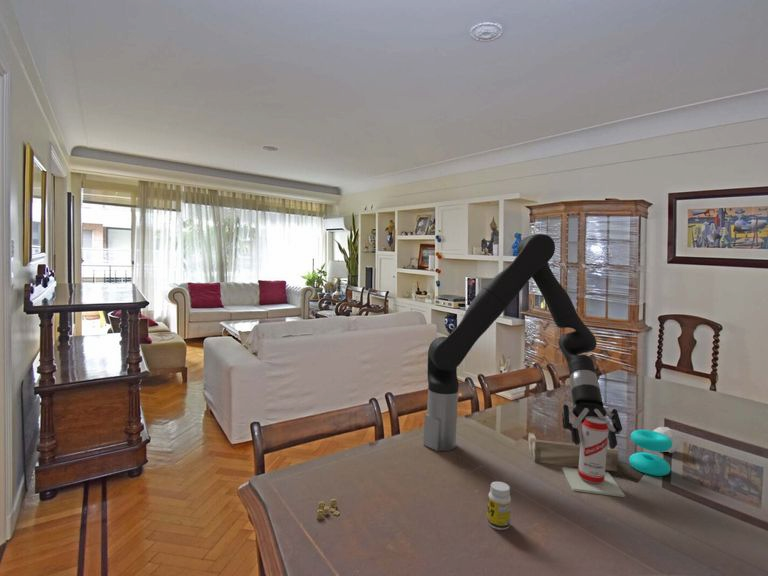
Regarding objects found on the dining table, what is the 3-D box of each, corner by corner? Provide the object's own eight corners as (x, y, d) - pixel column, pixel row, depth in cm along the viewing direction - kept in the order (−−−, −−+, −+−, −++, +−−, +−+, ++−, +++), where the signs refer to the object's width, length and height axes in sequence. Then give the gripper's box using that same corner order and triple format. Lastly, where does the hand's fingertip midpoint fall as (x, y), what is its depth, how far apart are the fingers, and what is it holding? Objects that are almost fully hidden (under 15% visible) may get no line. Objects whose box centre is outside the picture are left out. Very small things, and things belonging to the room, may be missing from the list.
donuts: (635, 438, 119) (627, 426, 128) (633, 473, 119) (625, 458, 129) (677, 444, 115) (666, 431, 125) (675, 480, 116) (664, 465, 125)
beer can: (607, 487, 110) (612, 425, 109) (581, 483, 111) (586, 422, 110) (600, 475, 116) (605, 417, 115) (575, 472, 117) (580, 414, 116)
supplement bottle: (483, 517, 95) (485, 480, 94) (504, 517, 95) (506, 480, 95) (491, 530, 90) (493, 491, 90) (513, 530, 91) (515, 491, 90)
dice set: (316, 522, 92) (317, 513, 92) (314, 509, 97) (314, 500, 96) (340, 519, 93) (340, 511, 93) (336, 506, 98) (337, 498, 98)
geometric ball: (669, 459, 136) (688, 441, 134) (664, 457, 130) (684, 439, 129) (647, 440, 141) (665, 423, 140) (642, 437, 135) (661, 419, 134)
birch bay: (617, 471, 120) (618, 450, 120) (534, 462, 124) (535, 441, 124) (602, 452, 132) (603, 433, 132) (527, 444, 136) (528, 426, 136)
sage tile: (624, 497, 106) (624, 494, 106) (572, 490, 108) (573, 488, 108) (608, 474, 118) (608, 472, 118) (561, 469, 120) (562, 467, 120)
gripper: (561, 381, 120) (569, 436, 110) (616, 385, 118) (629, 443, 107) (556, 394, 126) (563, 448, 115) (608, 398, 123) (620, 454, 113)
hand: (595, 446), depth 111 cm, fingers open, 8 cm apart
